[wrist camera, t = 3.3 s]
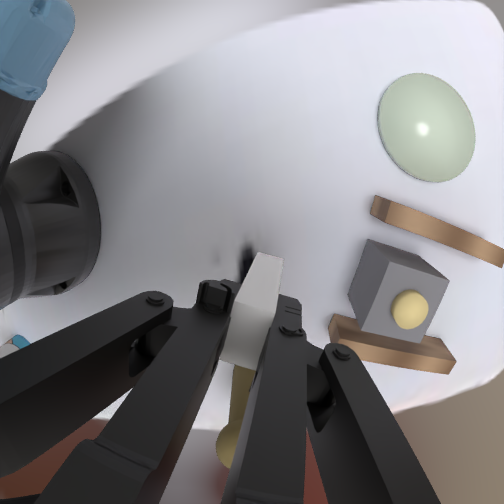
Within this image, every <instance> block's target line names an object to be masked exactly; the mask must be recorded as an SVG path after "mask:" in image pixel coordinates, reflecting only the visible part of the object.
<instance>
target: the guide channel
mask: <svg viewBox="0 0 504 504" xmlns="http://www.w3.org/2000/svg"><path fill="white" fill-rule="evenodd" d="M370 214H372V215H373V216H375V217H377V218H378V219H380V220H381V221H383V222H385V223H388V224H391V225H393V226H396V227H399V228H402V229H405V230H407V231H410V232H413V233H416V234H418V235H421V236H424V237H427V238H429V239H432V240H434V241H437V242H440V243H442V244H445V245H447V246H450V247H452V248H455V249H457V250H460V251H462V252H465V253H467V254H470V255H472V256H474V257H477V258H479V259H482V260H484V261H486V262H489V263H491V264H493V265H495V266H498V267H500V268H502V266H503V263H504V249H503V248H501V247H499V246H497V245H494V244H492V243H490V242H488V241H486V240H484V239H482V238H480V237H478V236H476V235H473V234H471V233H469V232H467V231H465V230H462V229H460V228H458V227H455V226H453V225H451V224H448V223H446V222H444V221H441V220H439V219H437V218H434V217H432V216H429V215H427V214H424V213H422V212H419V211H417V210H414V209H412V208H409V207H406V206H404V205H401V204H398V203H396V202H393V201H390V200H387V199H384V198H382V197H379V196H376V195H375V198H374V202H373V205H372V208H371V212H370ZM328 330H329V336H330V342H331V343H339V344H344V345H346V346H348V347H349V348H351V349H352V350H354V351H355V353H356V354H357V355H358V357H359V358H360V360H363V361H368V362H374V363H379V364H384V365H390V366H395V367H401V368H407V369H413V370H420V371H426V372H433V373H441V374H449V373H450V371H451V370H452V368H453V366H454V365H455V363H456V362H457V361H456V360H455V358H454V357H453V355H452V354H451V353H450V351H449V350H448V348H447V347H446V345H445V344H444V343H443V341H442V340H441V339H439V338H434V337H429V336H425V335H424V337H423V339H422V341H421V342H420V343H415V342H410V341H405V340H401V339H396V338H392V337H387V336H383V335H378V334H374V333H370V332H365V331H361V329H360V327H359V324H358V321H357V319H353V318H349V317H345V316H341V315H337V314H334V315H333V318H332V320H331V323H330V325H329V327H328Z"/></svg>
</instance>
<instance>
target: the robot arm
mask: <svg viewBox="0 0 504 504" xmlns="http://www.w3.org/2000/svg"><path fill="white" fill-rule="evenodd" d="M74 26H75V15H74V11H73V9H72V7H71V5H70V4H69V3H68V2H67V1H66V0H0V310H1V309H3V308H4V307H6V306H7V305H9V304H11V303H12V302H14V301H16V300H18V299H21V298H31V297H40V296H49V295H57V294H61V293H64V292H66V291H68V290H70V289H71V288H73V287H75V286H76V285H78V284H80V283H81V282H82V281H83V280H84V279H86V277H87V276H88V275H89V273H90V272H91V270H92V268H93V266H94V264H95V261H96V258H97V255H98V250H99V244H100V217H99V210H98V205H97V201H96V197H95V194H94V191H93V188H92V186H91V184H90V182H89V180H88V178H87V176H86V174H85V173H84V171H83V170H82V168H81V167H80V166H79V165H78V164H77V163H76V162H75V161H74V160H73V159H72V158H71V157H69V156H68V155H66V154H64V153H61V152H57V151H39V152H34V153H30V154H28V155H25V156H23V157H21V158H20V159H18V160H16V161H14V162H12V163H10V161H11V158H12V156H13V152H14V150H15V148H16V145H17V142H18V140H19V138H20V135H21V133H22V130H23V128H24V126H25V123H26V121H27V119H28V117H29V115H30V113H31V111H32V108H33V106H34V104H35V102H36V100H37V99H38V98H40V97H41V95H42V94H43V92H44V91H45V89H46V87H47V79H48V77H49V75H50V73H51V71H52V69H53V67H54V66H55V64H56V62H57V60H58V58H59V57H60V55H61V53H62V52H63V50H64V48H65V47H66V45H67V43H68V42H69V40H70V38H71V36H72V33H73V31H74ZM283 263H284V259H282V258H278V257H275V256H271V255H268V254H264V253H261V252H258V253H257V255H256V257H255V259H254V261H253V263H252V265H251V267H250V269H249V272H248V274H247V276H246V278H245V280H244V282H243V284H240V283H236V282H233V281H229V280H226V279H224V280H221V281H216V280H205V281H202V282H200V284H199V289H198V294H197V300H196V303H195V305H194V306H193V307H192V308H189V309H186V308H178V307H173V300H172V298H171V297H170V296H168V295H167V294H164V293H162V292H159V291H158V292H157V291H147V292H143V293H140V294H138V295H136V296H134V297H132V298H129V299H127V300H125V301H123V302H121V303H118V304H116V305H114V306H112V307H110V308H108V309H105V310H103V311H101V312H99V313H97V314H94V315H92V316H90V317H88V318H86V319H84V320H81V321H79V322H77V323H75V324H73V325H71V326H68V327H66V328H64V329H62V330H60V331H58V332H55V333H53V334H51V335H49V336H47V337H45V338H43V339H40V340H38V341H36V342H34V343H32V344H30V345H28V346H25V347H23V348H21V349H19V350H17V351H15V352H13V353H10V354H8V355H6V356H4V357H2V358H0V478H1V477H4V476H6V475H9V474H11V473H14V472H15V471H17V470H19V469H21V468H22V467H24V466H26V465H27V464H29V463H30V462H32V461H33V460H34V459H36V458H37V457H39V456H40V455H42V454H43V453H44V452H46V451H47V450H49V449H50V448H52V447H53V446H54V445H56V444H57V443H59V442H60V441H61V440H63V439H64V438H66V437H67V436H68V435H70V434H71V433H73V432H74V431H75V430H77V429H78V428H79V427H81V426H82V425H83V424H85V423H86V422H87V421H89V420H90V419H92V418H93V417H94V416H96V415H97V414H98V413H100V412H101V411H102V410H104V409H105V408H106V407H108V406H109V405H110V404H112V403H113V402H114V401H116V400H117V399H118V398H120V397H121V396H122V395H124V394H125V393H126V392H128V391H129V390H130V389H131V388H133V389H132V390H131V391H130V393H129V394H128V396H127V397H126V398H125V400H124V401H123V402H122V404H121V405H120V407H119V408H118V409H117V411H116V412H115V414H114V415H113V416H112V418H111V419H110V421H109V422H108V423H107V425H106V426H105V428H104V429H103V431H102V432H101V433H100V435H99V436H98V437H97V438H96V439H94V440H89V439H85V440H83V441H82V442H80V443H79V444H78V445H77V446H76V447H75V449H74V450H73V451H72V452H71V454H70V455H69V456H68V458H67V459H66V460H65V462H64V463H63V464H62V466H61V467H60V468H59V470H58V471H57V472H56V474H55V475H54V476H53V478H52V479H51V481H50V482H49V483H48V485H47V486H46V487H45V489H44V490H43V492H42V493H41V494H35V495H29V496H23V497H17V498H10V499H1V500H0V504H159V502H160V500H161V497H162V495H163V493H164V490H165V488H166V486H167V484H168V481H169V479H170V477H171V474H172V472H173V470H174V467H175V465H176V463H177V460H178V458H179V456H180V453H181V451H182V449H183V446H184V444H185V442H186V439H187V437H188V434H189V432H190V430H191V428H192V425H193V423H194V421H195V418H196V416H197V414H198V411H199V409H200V406H201V404H202V402H203V399H204V397H205V394H206V392H207V390H208V387H209V385H210V383H211V380H212V378H213V375H214V373H215V371H216V368H217V365H218V361H219V360H222V361H225V362H228V363H231V364H235V365H238V366H241V367H245V368H248V369H252V370H255V371H256V372H255V375H254V378H253V380H252V383H251V386H250V389H249V392H250V394H249V398H248V402H247V406H246V410H245V414H244V418H243V422H242V426H241V430H240V434H239V437H238V441H237V445H236V449H235V453H234V456H233V460H232V464H231V468H230V471H229V475H228V479H227V482H226V486H225V489H224V493H223V497H222V500H221V504H303V495H304V477H305V476H304V475H305V456H306V454H305V453H306V427H307V430H308V433H309V437H310V441H311V444H312V448H313V451H314V455H315V458H316V462H317V465H318V468H319V472H320V476H321V479H322V483H323V486H324V490H325V493H326V497H327V500H328V504H441V503H440V501H439V499H438V497H437V495H436V493H435V491H434V489H433V487H432V485H431V484H430V482H429V480H428V478H427V476H426V474H425V472H424V471H423V468H422V467H421V465H420V463H419V461H418V459H417V457H416V456H415V454H414V452H413V450H412V448H411V446H410V445H409V443H408V441H407V439H406V438H405V436H404V434H403V432H402V430H401V429H400V427H399V425H398V423H397V421H396V420H395V418H394V416H393V414H392V413H391V411H390V409H389V407H388V406H387V404H386V402H385V400H384V399H383V397H382V395H381V394H380V392H379V390H378V388H377V387H376V385H375V383H374V382H373V380H372V378H371V377H370V375H369V373H368V372H367V370H366V368H365V367H364V365H363V363H362V362H361V360H360V358H359V357H358V355H357V354H356V353H355V351H354V350H352V349H351V348H349V347H348V346H346V345H344V344H339V343H329V344H327V345H326V346H325V348H324V350H323V349H321V348H318V347H316V346H314V345H312V344H311V343H309V342H308V341H307V340H306V333H305V331H304V330H303V329H302V316H301V315H302V312H301V311H302V308H301V304H300V302H299V301H298V300H297V299H295V298H291V297H288V296H284V295H281V294H279V289H280V282H281V276H282V270H283ZM219 357H220V359H219Z"/></svg>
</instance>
